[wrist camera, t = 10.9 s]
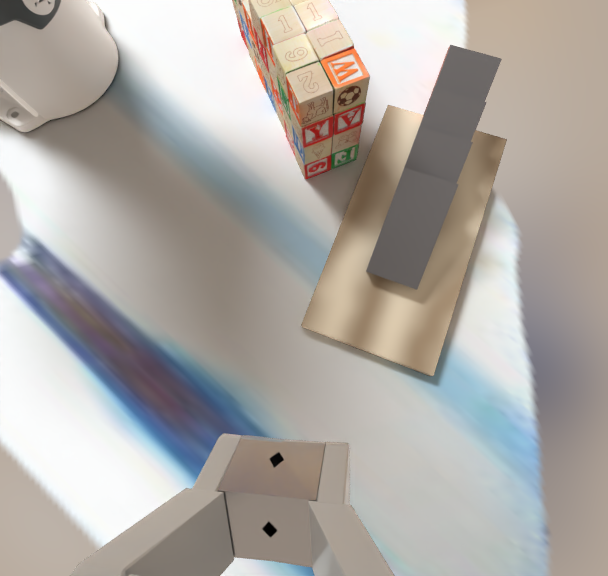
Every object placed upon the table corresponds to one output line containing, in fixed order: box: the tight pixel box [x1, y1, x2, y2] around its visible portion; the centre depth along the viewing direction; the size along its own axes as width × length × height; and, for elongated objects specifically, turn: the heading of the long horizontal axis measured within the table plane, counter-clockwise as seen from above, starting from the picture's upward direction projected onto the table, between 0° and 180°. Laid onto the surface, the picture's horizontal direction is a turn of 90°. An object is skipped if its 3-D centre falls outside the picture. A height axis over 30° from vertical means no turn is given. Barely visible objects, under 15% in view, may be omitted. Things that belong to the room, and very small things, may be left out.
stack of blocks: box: [232, 0, 370, 179], centre depth 40 cm, size 21×6×12 cm, turn 22°
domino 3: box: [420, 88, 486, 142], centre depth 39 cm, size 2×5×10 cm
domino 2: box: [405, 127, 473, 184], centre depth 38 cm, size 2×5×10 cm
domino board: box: [301, 105, 507, 376], centre depth 40 cm, size 13×26×1 cm, turn 158°
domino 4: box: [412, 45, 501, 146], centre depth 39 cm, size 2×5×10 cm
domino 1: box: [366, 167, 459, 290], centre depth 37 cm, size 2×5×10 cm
